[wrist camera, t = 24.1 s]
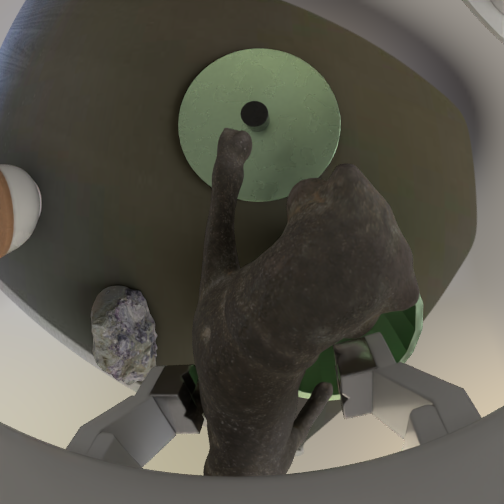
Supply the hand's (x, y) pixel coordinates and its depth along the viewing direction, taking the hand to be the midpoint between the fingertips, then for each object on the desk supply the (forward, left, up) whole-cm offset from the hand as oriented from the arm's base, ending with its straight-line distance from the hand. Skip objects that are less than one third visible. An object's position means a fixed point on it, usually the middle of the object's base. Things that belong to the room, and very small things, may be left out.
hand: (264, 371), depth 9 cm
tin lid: (-1, -11, -23) cm, 25 cm away
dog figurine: (-1, -1, -3) cm, 3 cm away
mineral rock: (+22, +9, -23) cm, 33 cm away
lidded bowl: (+34, -13, -23) cm, 43 cm away
